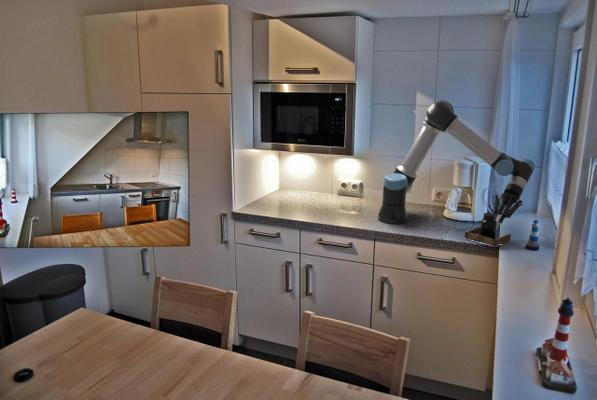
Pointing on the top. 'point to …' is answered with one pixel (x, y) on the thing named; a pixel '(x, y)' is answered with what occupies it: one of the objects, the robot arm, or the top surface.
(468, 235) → the walnut bay
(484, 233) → the supplement bottle
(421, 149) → the robot arm
